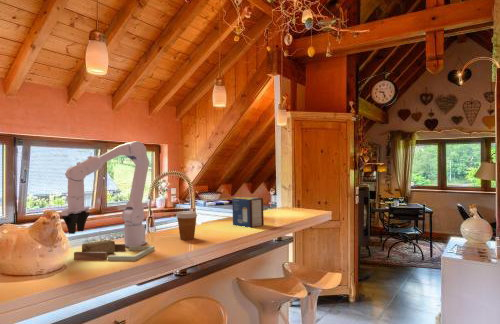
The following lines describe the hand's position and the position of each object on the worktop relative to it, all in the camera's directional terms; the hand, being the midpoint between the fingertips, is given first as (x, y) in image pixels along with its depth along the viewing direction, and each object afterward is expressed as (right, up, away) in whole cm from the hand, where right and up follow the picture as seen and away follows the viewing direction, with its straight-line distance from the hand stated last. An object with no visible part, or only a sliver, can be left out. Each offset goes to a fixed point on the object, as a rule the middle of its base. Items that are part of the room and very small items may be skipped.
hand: (76, 232), depth 138 cm
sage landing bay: (+22, -8, -3) cm, 24 cm away
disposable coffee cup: (+38, -9, +27) cm, 47 cm away
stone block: (+9, -9, -1) cm, 12 cm away
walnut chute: (+10, -8, -1) cm, 13 cm away
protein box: (+66, -9, +64) cm, 92 cm away
